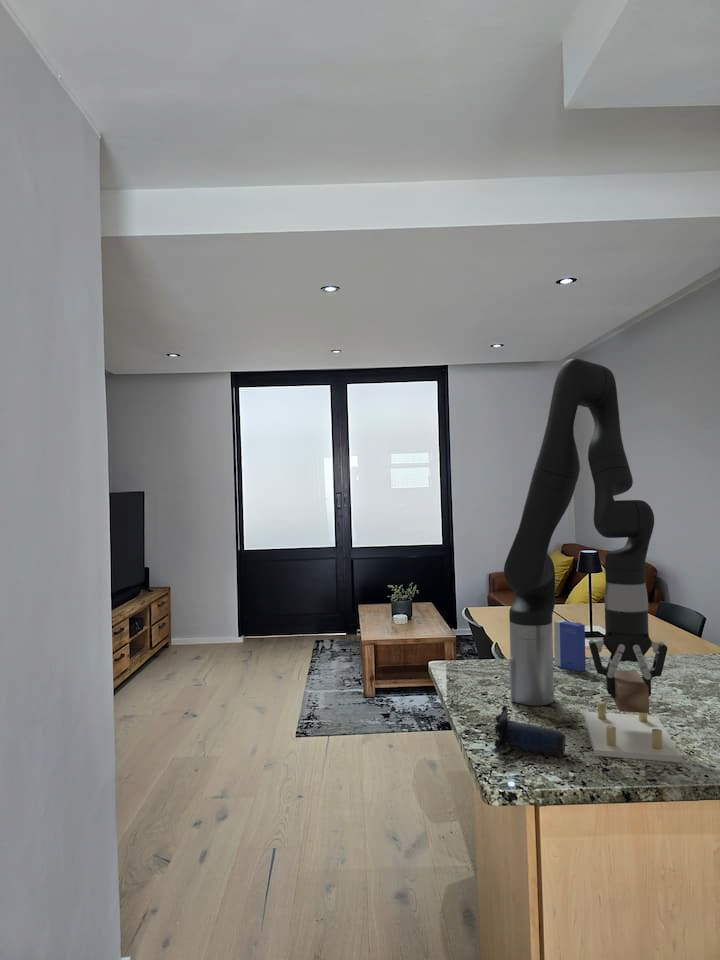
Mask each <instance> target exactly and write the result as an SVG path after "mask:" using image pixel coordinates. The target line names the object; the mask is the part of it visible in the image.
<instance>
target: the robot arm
mask: <svg viewBox="0 0 720 960" xmlns="http://www.w3.org/2000/svg"><path fill="white" fill-rule="evenodd" d="M579 406H580V407H584V408H588V410H589V412H590V414H591V417H592V418H593V423H594V429H593V434H592V436H591V438H590V442H589V444H588V445H589V446H588V451H587V460H588V465H589V468H590V472H591V476H592V481H593V485H594V509H593V525H594V528H595V530H596V531H597V532H598V534H600V535H601V536H602V537H603V538H606V539H618V538H619V539H621V538H625V539H627V541H626V543H625V545H624V546H623V547H620V548H619V549H614V550H611V551H608V552H607V553H606V554H605V556H604V569H605V570H604V571H605V572H604V574H605V575H604V576H605V577H604V578H605V579H604V580H605V585H604V586H605V587H604V623H605V625H604V626H605V629H604V630H605V631H604V633H605V634H604V636H603V637H602V639H599V640H598V639H597V640H593V639H591V640H589V641H588V646H589V651H590V653H591V657H592V661H593V664H594V667H595V671H596V673H597V674H598V675H603V676H605V682H606V683H605V685H606V687H605V688H606V692H607V694H608V695H610V697H611V699H613V698H615V677H614V674H615V671H616V670H618V669H617V668H618V667H619V665H620V662H631V663H632V662H633V663H637V665H638V668H639V670H640V672H641V674H642V675H641V678H642V679H643V681H644V682H645V683H646V685H647V686H648V688H649V697H651V695H652V679H653V678H656V677H658V678H659V677H661V676H662V673H663V669H664V665H665V662H666V661H665V660H666V657H667V653H668V646H667V645H666V644H665V642H662V641H659V642H656V641H652V639H651V638H650V635H649V601H648V592H647V591H648V589H647V584H646V581H647V580H646V559H647V555H648V550H649V545H650V541H651V538H652V534H653V532H654V527H655V515H654V511H653V509H652V507H651V505H649V503H647V502H646V501H644V500H641V499H626V500H625V499H624V500H623V499H621V500H615V498H614V497H615V496H618V495H621V494H624V493H626V492H628V491H629V490H630V489H631V488H633V487H632V486H633V483H634V481H633V476H632V472H631V469H630V466H629V465H630V464H629V461H628V457H627V455H626V452H625V451H626V450H625V447H624V444H623V439H622V431H621V422H620V410H619V409H620V408H619V401H618V391H617V383H616V379H615V375H614V374H613V372H612V370H611V369H610V368H608V367H606V366H605V365H601V364H599V363H594V362H592V361H591V362H590V361H588V360H584V359H581V358H573V357H572V358H570V359H568V360H566V361H565V362H564V363H563V364H562V366H560V369H559V370H558V372H557V376H556V379H555V381H554V386H553V389H552V395H551V400H550V405H549V412H548V418H547V422H546V427H545V431H544V435H543V438H542V442H541V446H540V450H539V454H538V456H537V460H536V463H535V466H534V469H533V473H532V476H531V479H530V483H529V486H528V487H529V488H528V492H527V496H526V499H525V503H524V505H523V510H522V515H521V519H520V524H519V526H518V530H517V532H516V534H515V536H514V537H515V538H514V539H513V541H512V545H511V547H510V549H509V551H508V554H507V557H506V560H505V562H504V567H503V575H504V580H505V582H506V584H507V586H508V587H509V588H510V589H511V590H513V591H514V598H513V601H512V604H511V605H510V608H509V611H508V612H509V613H508V614H509V616H508V617H509V619H508V620H509V675H510V677H509V678H510V679H509V680H510V682H509V684H510V687H509V688H510V703H517V704H520V705H521V704H522V705H526V706H537V707H539V706H547V705H550V704H553V703H554V701H555V695H554V694H555V689H554V688H555V687H554V686H555V685H554V646H553V645H554V643H553V642H554V633H553V632H554V631H553V614H554V610H555V604H556V569H555V564H554V561H553V559H552V557H551V556H550V555H549V554H548V551H549V547H550V543H551V540H552V536H553V535H554V532H555V530H556V528H557V526H558V525H559V523H560V521H561V520H562V518H563V516H564V515H565V513H566V511H567V509H568V507H569V506H570V503H571V501H572V499H573V496H574V492H575V489H576V486H577V482H578V479H579V476H580V469H581V468H580V467H581V465H580V458H579V452H578V448H577V445H576V441H575V439H576V438H575V433H574V426H575V419H576V415H577V410H578V407H579ZM604 646H605V648H606V649H607V650H608V652H609V653H610V654H609V658H608V662H607V665H606V667H605V666H604V665H603V664H602V660H601V656H600V653H602V651H603V647H604ZM651 648H652V651H653V653H654V658H653V663H652V667H651V668H649V667H648V665H647V662H646V660H645V657H644V656H645V655H646V653H648V651H649V650H650V649H651Z"/></svg>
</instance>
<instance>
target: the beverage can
mask: <svg viewBox="0 0 720 960" xmlns="http://www.w3.org/2000/svg"><path fill="white" fill-rule="evenodd" d="M501 710H502V711H501V714H498V715H497V716H496V717H495V720H496V722H497V723H496V724H495V726H494V732H495V733H494V734H496V735H497V738H496V739H495V742H494V747H495V748H494V750H493V752H494V753H495V754H496V753H497V754H498V755H501V754H502V750H503V749H504V747H506V745H508V746H509V747H510V748H513V749H518V750H522V751H527V752H529V753H530V752H531V753H535V754H541V755H545V756H550V757H554V758H560V757H565V751H566V744H567V736H566V734H565V733H564V732H562V730H558V729H553V728H547V727H543V726H538V725H534V724H530V723H529V724H528V723H523V722H518V721H514V720H508V716H509V713H508V712H509V711H510V710H509V708H508V707H507V705H502V708H501Z"/></svg>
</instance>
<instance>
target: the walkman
mask: <svg viewBox="0 0 720 960" xmlns="http://www.w3.org/2000/svg"><path fill="white" fill-rule="evenodd" d="M553 625H554V627H553V628H554V631H553V632H554V633H553V642H554V643H553V645H554V646H553V653H554V666H556V667H560V668H562V669H563V668H564V669H566V668H567V670H570V671H575V672H577V671H578V673H579V672H583V671H584V672H585V671H586V670H587V669H586V667H587V666H586V664H587V663H586V626H585V624H582V622H579V621H576V622H573V621H567V620H562V619H560V620H554V621H553Z"/></svg>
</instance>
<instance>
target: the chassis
mask: <svg viewBox="0 0 720 960" xmlns="http://www.w3.org/2000/svg"><path fill="white" fill-rule="evenodd" d="M596 709H597V711H596V712H594V711H583V719H584V722H585V727H586V730H587V733H588V736H589V741H590V744H591V748H592V751H593V755H594V756H596V757H605V758H606V757H608V758H620V759H635V760H646V761H659V762H660V761H661V762H671V763H672V762H673V763H674V762H675V763H683V762H682V760H683V759H682V754H681V753H680V752H679V749H678V748H677V746H676V745H675V744H674V741H673V740H672V738H671V737H670V735H669V734H668V732H667V730H666V728H665V726H664V725H663V724H662V723H663V722H662V721H661V720H660V718H659V717H658V715H648V713H639V712H637V713H638V714H629V713H611V712H607V703H606V702H604V701H597V708H596Z"/></svg>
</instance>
